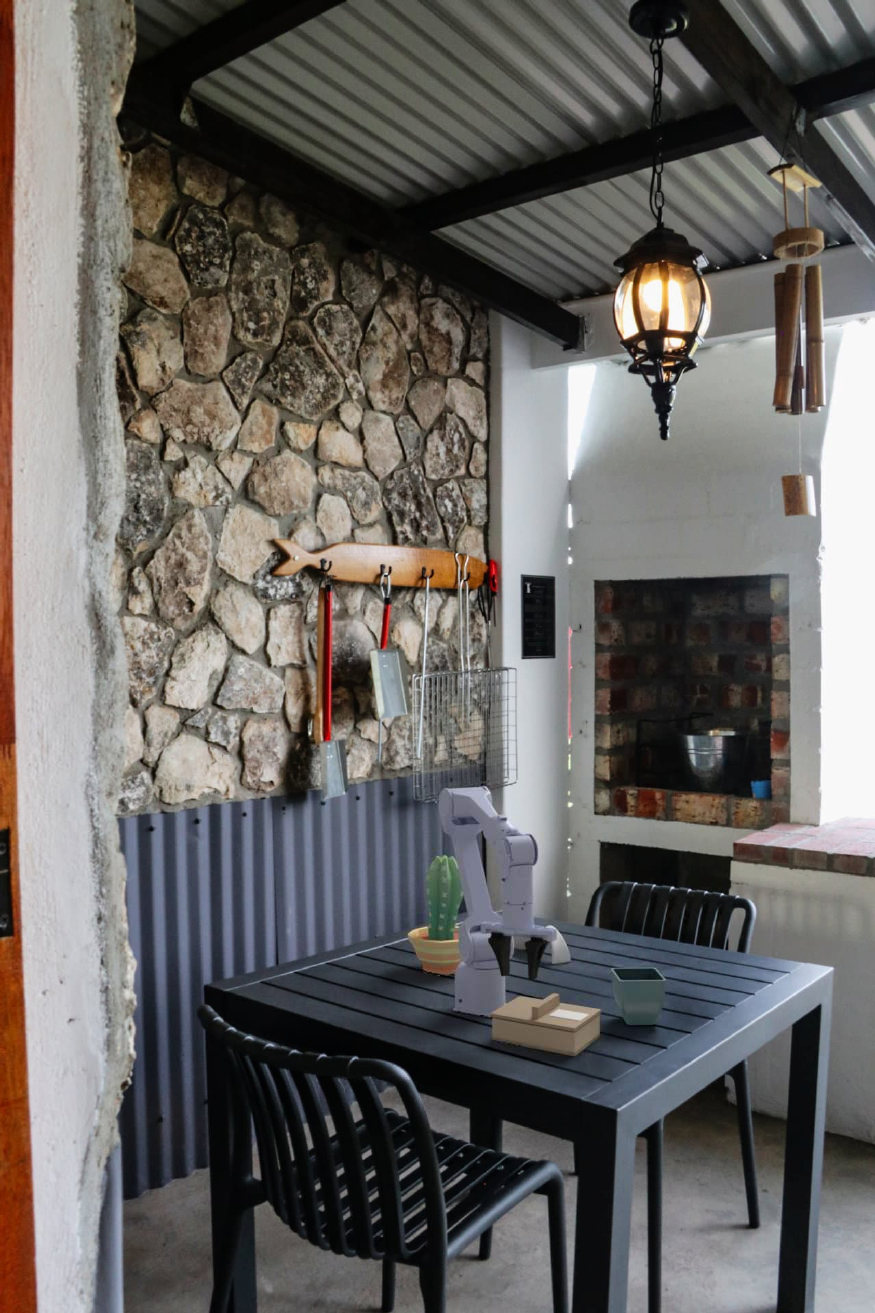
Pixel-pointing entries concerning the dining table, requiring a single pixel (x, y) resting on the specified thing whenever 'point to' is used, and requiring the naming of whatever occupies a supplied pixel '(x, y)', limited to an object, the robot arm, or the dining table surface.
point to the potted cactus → (440, 918)
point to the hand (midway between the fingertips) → (519, 977)
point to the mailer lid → (546, 1013)
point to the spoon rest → (558, 947)
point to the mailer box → (546, 1036)
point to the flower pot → (638, 994)
